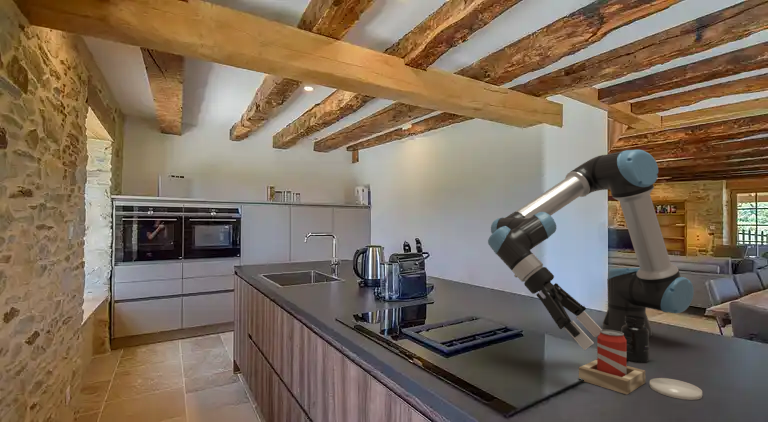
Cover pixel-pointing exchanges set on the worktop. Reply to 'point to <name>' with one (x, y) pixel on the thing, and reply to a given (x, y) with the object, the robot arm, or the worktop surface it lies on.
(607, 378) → the oak holder
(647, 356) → the supplement bottle
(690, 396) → the coaster
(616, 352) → the beverage can
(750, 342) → the worktop surface
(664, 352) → the worktop surface
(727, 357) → the worktop surface
